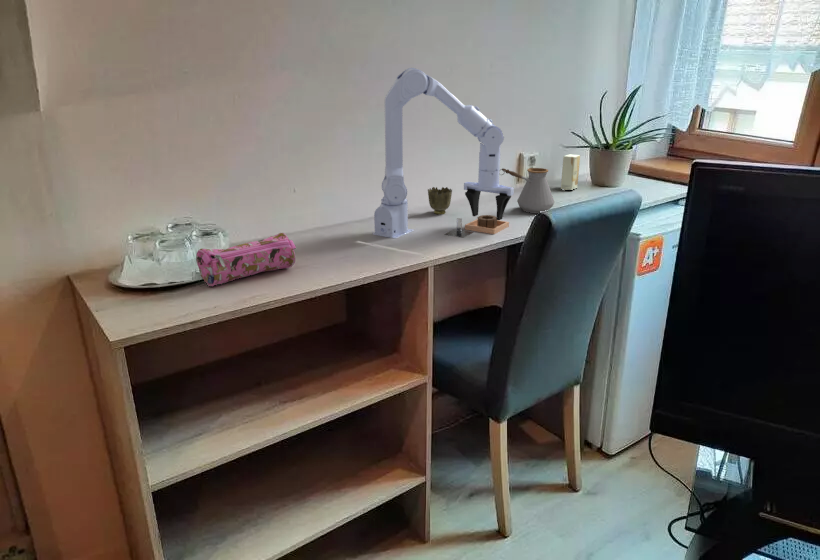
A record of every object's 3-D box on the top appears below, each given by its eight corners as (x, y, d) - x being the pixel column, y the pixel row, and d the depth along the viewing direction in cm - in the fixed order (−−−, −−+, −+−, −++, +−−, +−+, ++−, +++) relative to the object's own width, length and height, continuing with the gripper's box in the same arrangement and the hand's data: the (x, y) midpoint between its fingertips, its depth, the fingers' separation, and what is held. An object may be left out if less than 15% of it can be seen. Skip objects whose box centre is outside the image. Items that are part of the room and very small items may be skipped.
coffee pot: (534, 204, 204) (537, 158, 198) (561, 211, 195) (565, 163, 189) (485, 214, 192) (487, 165, 187) (511, 222, 183) (514, 171, 178)
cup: (452, 211, 195) (452, 186, 192) (451, 217, 188) (451, 191, 186) (428, 211, 196) (428, 186, 193) (426, 217, 189) (426, 191, 186)
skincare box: (571, 191, 220) (574, 157, 216) (560, 190, 222) (562, 156, 218) (577, 188, 225) (580, 154, 221) (566, 187, 227) (569, 153, 223)
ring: (491, 231, 173) (491, 220, 172) (474, 228, 175) (474, 218, 174) (499, 226, 177) (499, 216, 176) (482, 224, 179) (483, 214, 178)
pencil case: (211, 293, 133) (206, 254, 130) (196, 281, 140) (191, 244, 137) (300, 272, 145) (298, 235, 142) (283, 262, 152) (279, 227, 149)
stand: (463, 239, 167) (463, 222, 166) (444, 235, 171) (444, 219, 169) (473, 234, 172) (474, 217, 170) (455, 230, 175) (455, 214, 174)
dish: (494, 235, 170) (494, 229, 170) (464, 230, 175) (465, 224, 174) (508, 228, 177) (509, 221, 177) (480, 223, 182) (480, 217, 182)
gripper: (519, 169, 169) (516, 218, 174) (472, 164, 177) (471, 210, 182) (508, 173, 164) (505, 223, 169) (460, 168, 172) (459, 216, 176)
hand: (487, 217), depth 175 cm, fingers open, 7 cm apart
